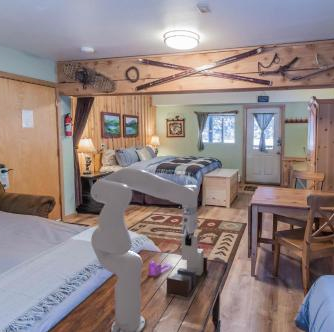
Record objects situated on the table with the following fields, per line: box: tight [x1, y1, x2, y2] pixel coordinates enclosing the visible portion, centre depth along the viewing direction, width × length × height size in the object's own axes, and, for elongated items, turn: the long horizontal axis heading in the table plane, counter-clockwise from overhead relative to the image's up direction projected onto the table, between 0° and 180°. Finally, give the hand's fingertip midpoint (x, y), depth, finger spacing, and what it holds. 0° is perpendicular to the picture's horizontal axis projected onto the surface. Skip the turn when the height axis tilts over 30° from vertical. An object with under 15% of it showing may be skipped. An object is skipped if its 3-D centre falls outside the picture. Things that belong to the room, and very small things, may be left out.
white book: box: [180, 233, 199, 261], centre depth 139 cm, size 2×8×13 cm, turn 76°
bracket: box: [148, 260, 172, 277], centre depth 151 cm, size 13×6×7 cm, turn 149°
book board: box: [166, 255, 208, 298], centre depth 140 cm, size 26×11×9 cm, turn 166°
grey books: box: [171, 267, 196, 291], centre depth 134 cm, size 10×9×7 cm
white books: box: [186, 248, 205, 275], centre depth 148 cm, size 4×8×13 cm, turn 76°
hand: (189, 244), depth 138 cm, fingers closed on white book, 2 cm apart
